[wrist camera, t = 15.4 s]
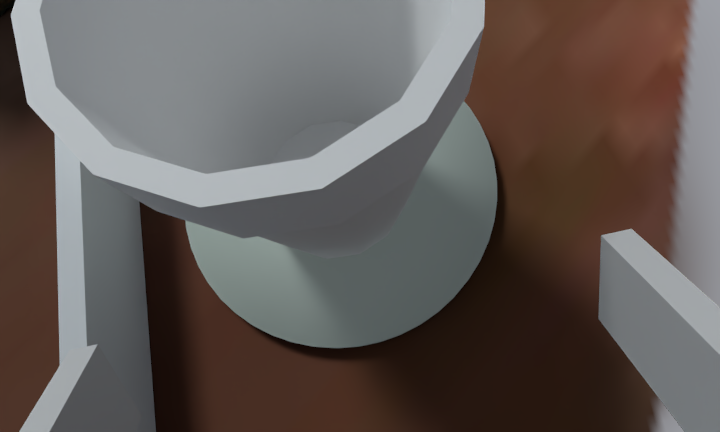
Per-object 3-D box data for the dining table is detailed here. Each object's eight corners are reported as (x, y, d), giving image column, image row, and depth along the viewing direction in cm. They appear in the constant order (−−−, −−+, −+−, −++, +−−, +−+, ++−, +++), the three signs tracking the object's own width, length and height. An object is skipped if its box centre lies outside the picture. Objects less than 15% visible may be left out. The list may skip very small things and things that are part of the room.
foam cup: (487, 183, 22) (596, -52, 9) (337, 342, 20) (228, 321, 8) (332, 58, 24) (252, -265, 12) (190, 193, 23) (-72, -4, 10)
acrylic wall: (109, 40, 26) (51, -22, 22) (127, 36, 26) (73, -27, 22) (136, 498, 20) (63, 536, 16) (160, 493, 20) (93, 530, 16)
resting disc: (138, 171, 24) (129, 166, 23) (365, 8, 26) (364, -3, 25) (305, 419, 20) (302, 422, 20) (561, 212, 22) (567, 207, 21)
